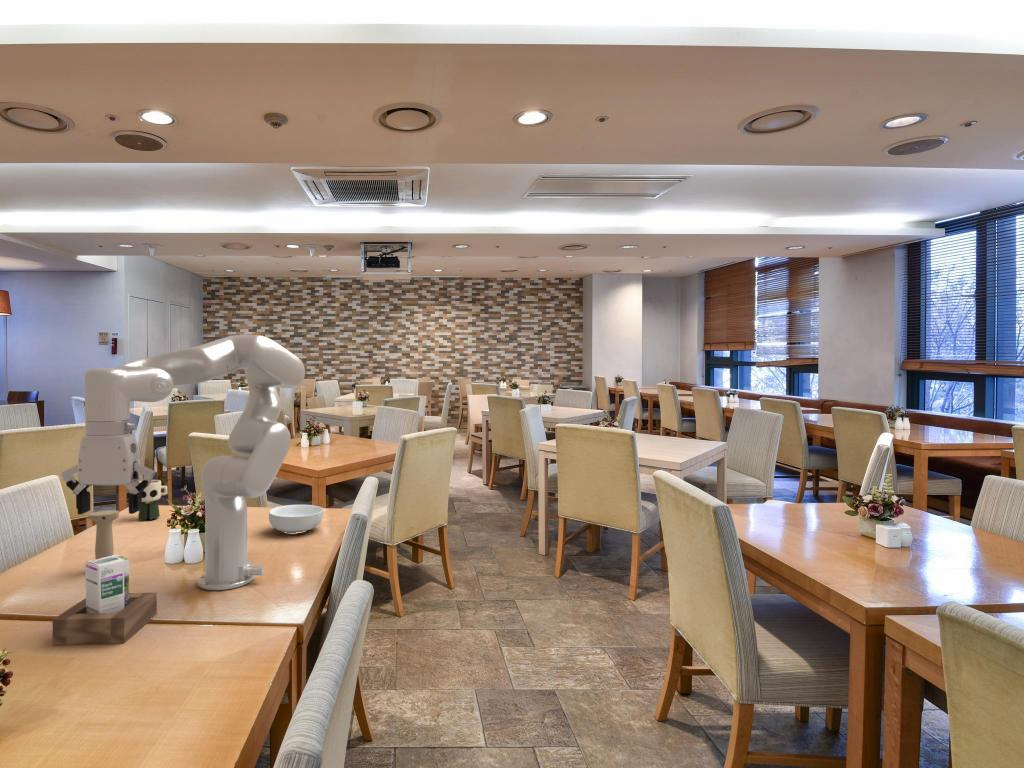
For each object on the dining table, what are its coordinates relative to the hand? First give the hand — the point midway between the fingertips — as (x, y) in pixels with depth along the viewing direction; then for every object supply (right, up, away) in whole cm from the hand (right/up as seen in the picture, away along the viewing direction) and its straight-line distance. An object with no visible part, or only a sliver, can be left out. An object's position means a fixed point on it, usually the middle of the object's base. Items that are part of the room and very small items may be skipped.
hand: (109, 512), depth 121 cm
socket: (-1, -24, +1) cm, 24 cm away
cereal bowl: (+12, -22, +73) cm, 77 cm away
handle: (-24, -23, +34) cm, 48 cm away
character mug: (-43, -21, +83) cm, 96 cm away
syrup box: (-1, -24, +1) cm, 24 cm away
